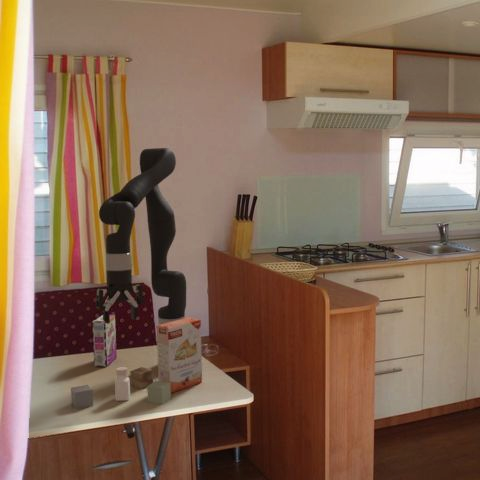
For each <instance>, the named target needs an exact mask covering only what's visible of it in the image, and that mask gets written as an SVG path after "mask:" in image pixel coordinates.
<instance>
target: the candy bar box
mask: <svg viewBox="0 0 480 480" xmlns="http://www.w3.org/2000/svg"><path fill="white" fill-rule="evenodd" d="M91 323H92V342H93V343H92V344H93V366H94V367H95V368H107V367H108V366H110V365H111V364H112V362H114V361H115V360H116V359H117V357H118V356H117V337H116V336H117V334H116V333H117V332H116V330H117V329H116V315H115V314H110V323H108V324H107V323H105V321H103V314H102V315H100V316H99V317H97V318H96V319H94V320H92V322H91Z"/></svg>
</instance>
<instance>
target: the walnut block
mask: <svg viewBox="0 0 480 480" xmlns="http://www.w3.org/2000/svg"><path fill="white" fill-rule="evenodd" d="M129 373H130V387H131V388H132V387H133V388H137V389H141V390H144V389H147V386H149V385H150V384H152V383H153V382H154V371H153V369H151V368H147V367H142V366H141V367H138V368H135V369H132V370H131V371H129Z"/></svg>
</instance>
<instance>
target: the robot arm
mask: <svg viewBox="0 0 480 480" xmlns="http://www.w3.org/2000/svg"><path fill="white" fill-rule="evenodd" d="M176 165H177V160H176V156H175V153H174V151H173V150H172V149H170V148H167V147H159V148H158V147H157V148H156V147H155V148H145V149H143V150H142V151H141V152H140V154H139V168H140V170H139V171H140V174H138V175H136V176H135V177H133V178H131V179H130V180H129V181H128V182H127V183H125V184H124V186H123V187H122V188H121V190H119V191H118V192H116V193H115V194H114V195H112V196H110V197H108V198H107V199H105V201H103V202H102V204H101V205H100V207H99V210H98V218H99V219H100V221H101V223H103V224H104V225H109V226H118V229H117V230H116V232H111V233H108V234H107V235H106V238H105V242H106V243H105V246H106V247H105V248H106V255H105V256H106V257H105V271H106V272H105V273H106V276H105V277H106V278H105V280H106V281H105V282H106V288H105V289H103V288H101V289H100V288H97V289H96V292H95V293H96V294H95V296H96V297H95V308H96V309H98V310H99V311H102V315H103V321H105V323H107V324H108V323H110V315H111V314H110V308H111V307H112V306H114V303H120V302H128V303H129V305H130V319H131V320H133V321H134V320H137V318H138V307H139V306H141V305H143V304H144V295H143V285H140V284H135V285H133V276H132V275H133V273H132V266H133V264H132V256H131V236H132V230H133V227H134V226H133V225H134V222H135V218H136V210H135V209H136V208H137V207H138V206H139V205H140V204H141V203H142V201H143V200H145V206H146V214H147V215H146V218H147V227H148V228H147V229H148V235H149V245H150V259H151V260H150V261H151V262H150V264H151V265H150V266H151V267H150V270H151V271H150V280H151V287H152V291H153V293H154V294H155V296H157V297H163V298H168V302H167V305H164V306H161V307H159V308H158V309H157V318H158V321H157V322H158V325H161V324H165V323H168V322H173V321H177V320H180V319H184V318H186V317H185V314H186V313H185V312H186V308H187V280H186V276H185V274H184V273H183V272H181V271H178V270H176V271H175V270H168V263H167V262H168V253H169V250H170V249H171V246H172V244H173V242H174V240H175V237H176V233H177V230H176V229H177V228H176V220H175V219H176V217H175V213H174V210H173V209H172V207H171V205H170V204H169V202H168V201H167V200H166V198H165V197H164V196H163V194H162V192H161V190H160V188H159V184H160V183H161V182H163V181H164V180H165V179H166V178H168V177H169V176H170V175H171V174H172V173H173V172H174V170H175V169H176ZM133 292H134V293H135V298H134V297H133V296H132V293H133ZM106 294H107V298H106V299H105V300H104V297H105V295H106ZM104 301H105V302H104Z"/></svg>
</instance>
